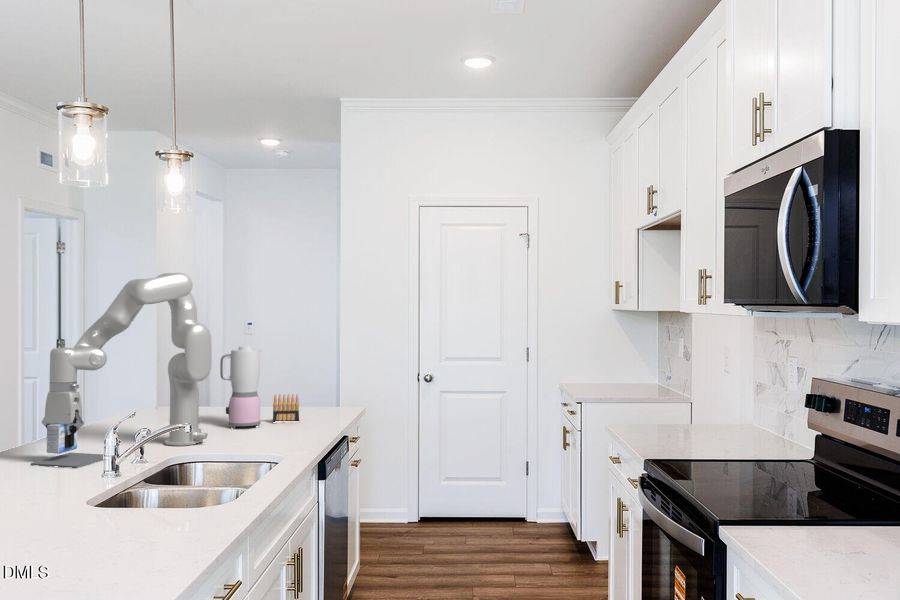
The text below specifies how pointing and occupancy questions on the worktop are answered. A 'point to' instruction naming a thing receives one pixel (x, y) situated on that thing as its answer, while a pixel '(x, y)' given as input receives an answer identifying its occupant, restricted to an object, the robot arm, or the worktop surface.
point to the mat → (70, 460)
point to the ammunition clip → (286, 409)
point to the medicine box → (58, 439)
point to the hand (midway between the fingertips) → (62, 445)
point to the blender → (243, 386)
